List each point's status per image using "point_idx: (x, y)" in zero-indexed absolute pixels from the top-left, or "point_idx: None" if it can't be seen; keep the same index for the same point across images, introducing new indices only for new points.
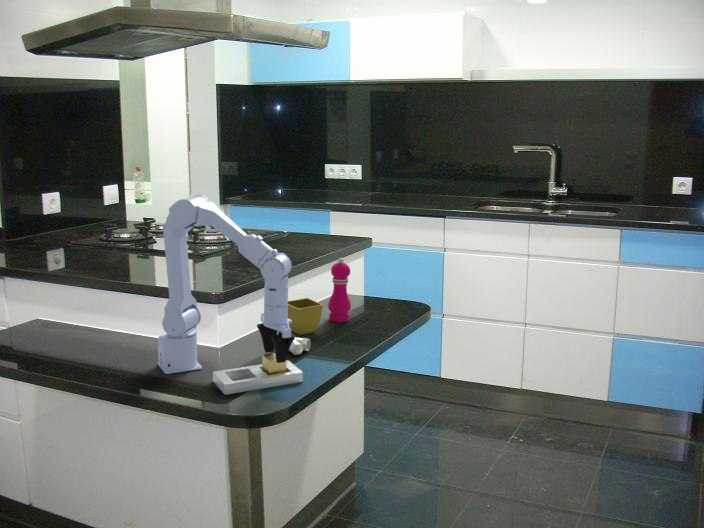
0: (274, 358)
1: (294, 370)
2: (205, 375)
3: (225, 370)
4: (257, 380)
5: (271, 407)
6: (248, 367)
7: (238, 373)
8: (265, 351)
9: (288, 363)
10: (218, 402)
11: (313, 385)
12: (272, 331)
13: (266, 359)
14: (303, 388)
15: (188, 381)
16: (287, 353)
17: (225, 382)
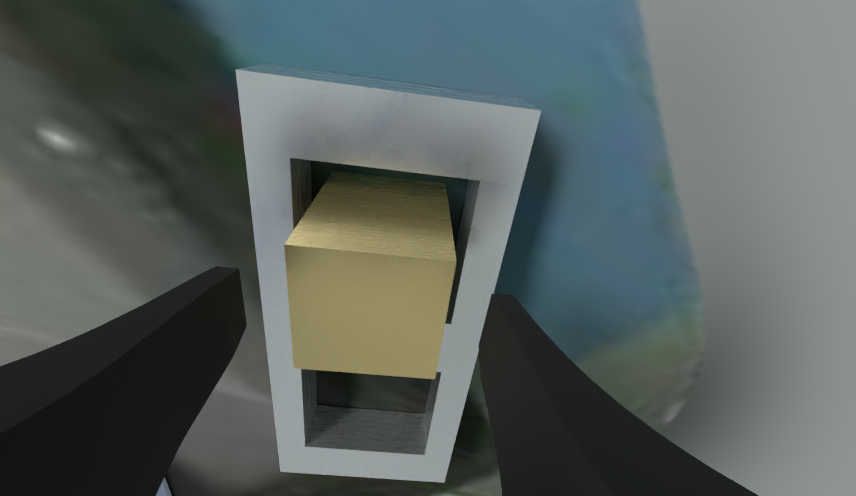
0: (412, 336)
1: (470, 149)
2: (219, 428)
3: (285, 437)
4: (470, 378)
5: (660, 372)
6: (284, 353)
7: (308, 383)
8: (238, 333)
9: (311, 111)
10: (489, 469)
11: (619, 65)
12: (80, 468)
13: (380, 367)
14: (608, 153)
15: (263, 477)
16: (551, 341)
17: (423, 475)
